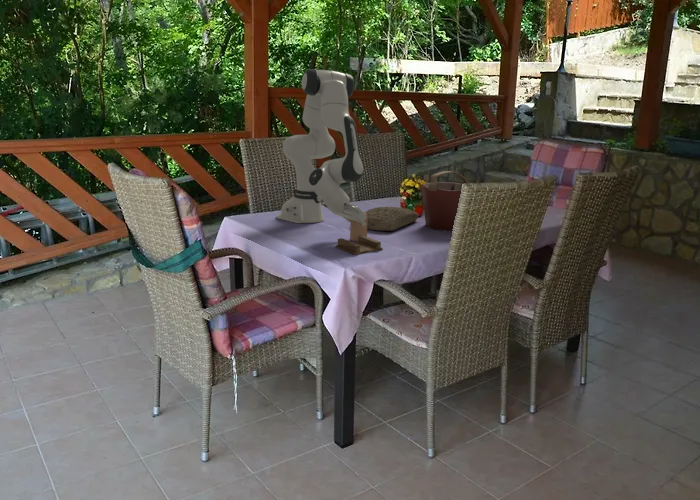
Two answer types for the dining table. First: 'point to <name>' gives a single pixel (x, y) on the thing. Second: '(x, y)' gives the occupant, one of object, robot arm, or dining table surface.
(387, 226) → the stone tablet
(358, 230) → the clay block
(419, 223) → the dining table surface
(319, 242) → the dining table surface
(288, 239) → the dining table surface
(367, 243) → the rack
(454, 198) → the bucket
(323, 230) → the dining table surface
